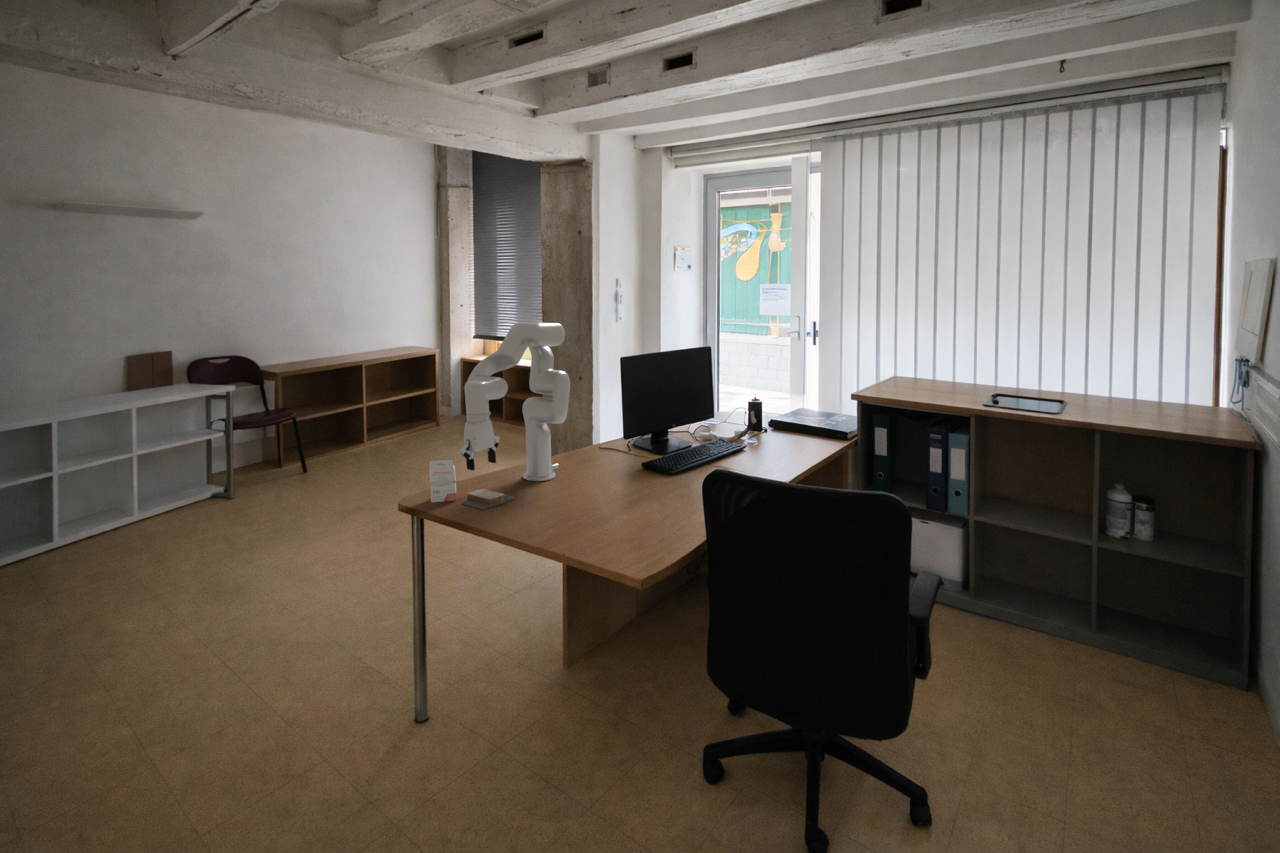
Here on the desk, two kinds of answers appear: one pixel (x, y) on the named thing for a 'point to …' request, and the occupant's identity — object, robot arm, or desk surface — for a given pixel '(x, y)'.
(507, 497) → the mat
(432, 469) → the ink cartridge box
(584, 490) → the desk surface
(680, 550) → the desk surface
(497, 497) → the tile
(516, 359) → the robot arm
